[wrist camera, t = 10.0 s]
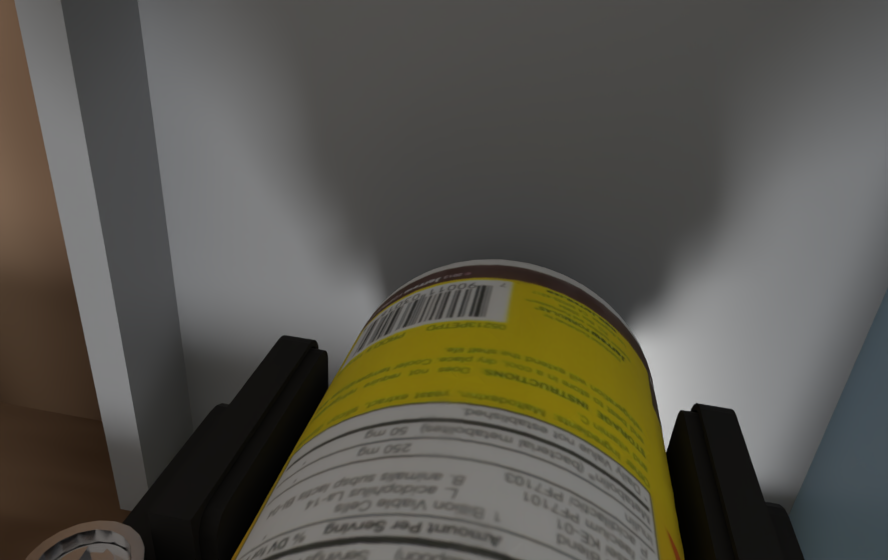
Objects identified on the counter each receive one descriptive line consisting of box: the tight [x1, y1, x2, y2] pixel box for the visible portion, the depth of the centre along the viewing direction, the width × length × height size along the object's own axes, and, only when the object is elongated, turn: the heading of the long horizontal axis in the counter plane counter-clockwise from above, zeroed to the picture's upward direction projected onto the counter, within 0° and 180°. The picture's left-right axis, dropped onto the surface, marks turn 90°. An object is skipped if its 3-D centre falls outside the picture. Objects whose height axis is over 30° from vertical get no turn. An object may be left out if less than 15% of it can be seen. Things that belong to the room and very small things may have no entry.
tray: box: [14, 0, 888, 560], centre depth 10 cm, size 16×24×7 cm, turn 176°
